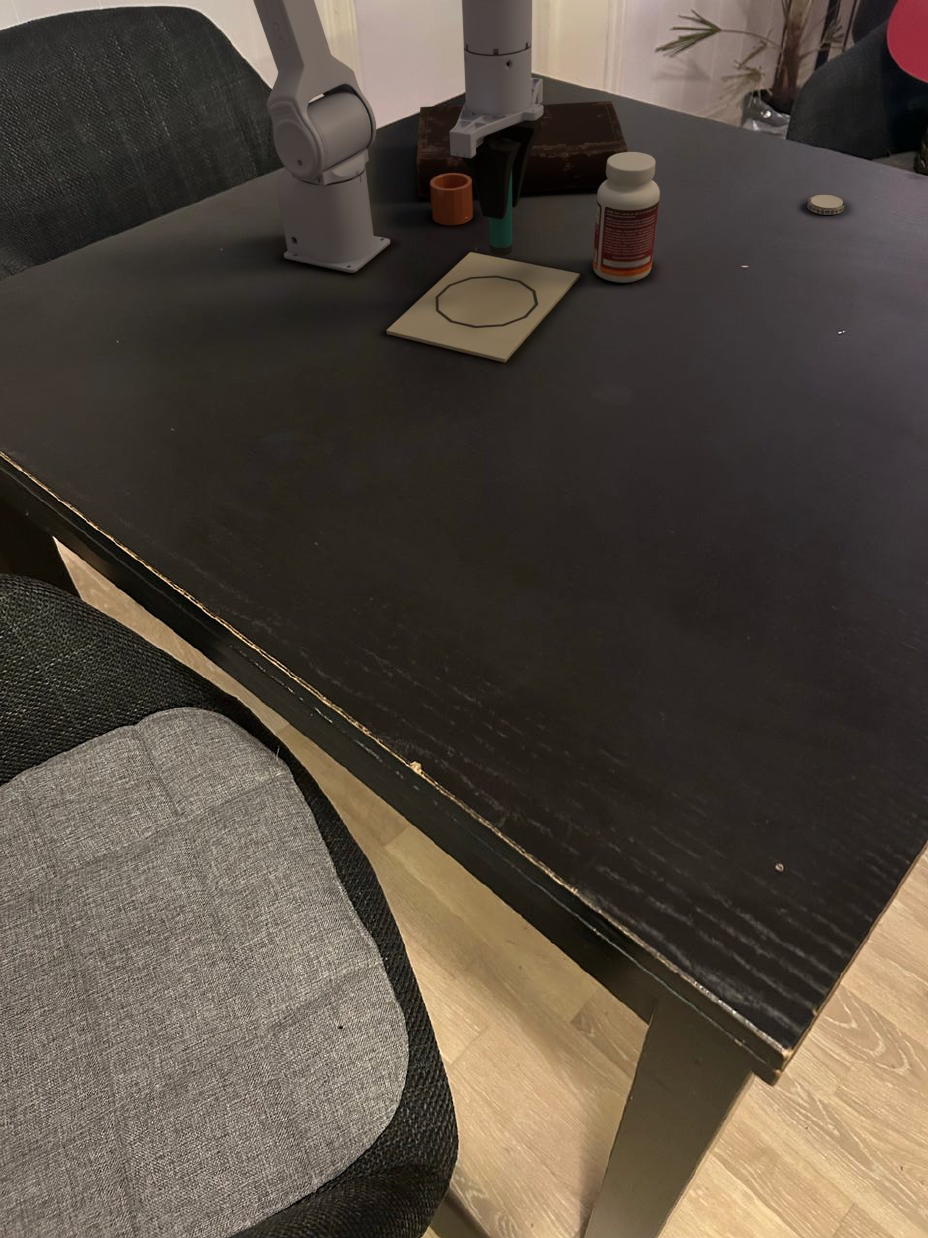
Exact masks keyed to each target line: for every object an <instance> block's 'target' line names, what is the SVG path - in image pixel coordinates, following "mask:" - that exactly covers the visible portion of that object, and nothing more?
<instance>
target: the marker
mask: <svg viewBox="0 0 928 1238" xmlns="http://www.w3.org/2000/svg"><path fill="white" fill-rule="evenodd" d="M504 140H507V141H511V140H510V139H508V138H504ZM488 223H489V226H488V227H489V252H490V254H491V255H493V256H496V257H497V256H499V257H504V256H507V255H510V254H511V253H512V252H513V207H512V171H511V177H510V183H509V194H508V204H507V210H506V214H505V217H504V218H503V219H496V218H490V217H488Z"/></svg>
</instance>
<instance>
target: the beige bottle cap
mask: <svg viewBox="0 0 928 1238" xmlns="http://www.w3.org/2000/svg"><path fill="white" fill-rule="evenodd" d="M845 206H846V202H845V200H844V199H843V198H841V197H839V196H836V195H832V194H817V195H813V196H811V197H809V198H808V200H807V205H806V207H807V209H808V210H809V211H811V212H812V213H815V214H819V215H837V214H841V213H842V212H843V211H844V209H845Z"/></svg>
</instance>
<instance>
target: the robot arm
mask: <svg viewBox="0 0 928 1238" xmlns="http://www.w3.org/2000/svg"><path fill="white" fill-rule="evenodd" d="M252 1H253V4H254V7H255V9H256V14H257V15H258V18H259V21H260V24H261V27H262V29H263V32H264V35H265V38H266V42H267V44H268V47H269V49H270V50H269V51H270V53H271V56H272V59H273V62H274V64H275V67H276V70H277V75H276V79H275V82H274V84H273V86H272V87H271V91H270V94H269V95H268V99H267V101H266V108H267V110H268V113H269V116H270V120H271V125H272V136H273V143H274V148H275V151H276V154H277V156H278V158H279V159H280V162H281V163H282V165H283V166H284V167H285V168H284V169H283V170H282V172H281V174H280V175H279V178H278V183H277V203H278V208H279V213H280V219H281V223H282V228H283V234H284V239H285V243H286V249H287V251H285V252H284V253H283V258H284V259H286V260H290V261H295V262H299V263H304V264H308V265H313V266H318V267H322V268H327V269H331V270H336V271H339V272H345V273H350V274H355V273H357V272H358V271H359V270H360V269H361V268H363V267H364V266H365V265H366V264H368V263H369V262H370V261H371V260H372V259H374V258H375V257H376V256H377V255H379V254H380V253H381V252H382V251H383V250H384V249H386V248H387V247H388V246H389V245H390V244H391V239H390V238H387V237H382V236H377V235H374V226H373V219H372V210H371V203H370V202H371V201H370V194H369V193H370V192H369V186H368V177H367V170H366V163H368V162H369V161H370V159H369V149H370V148H372V146H373V145H374V142H375V140H376V137H377V122H376V116H375V113H374V111H373V108H372V106H371V104H370V102H369V101H368V99H367V98H366V96H365V95H364V93H363V91H362V90H361V88H360V86H359V83H358V79H357V78H356V74H355V71H354V70H353V69H352V68H351V67H349V66H348V65H347V64H345V63H344V62H342V61H340V60H339V59H338V58H337V57H335V56H334V55H332V53H331V50H330V46H329V43H328V40H327V37H326V33H325V31H324V30H325V29H324V27H323V24H322V21H321V18H320V17H321V16H320V14H319V11H318V8H317V5H316V1H315V0H252ZM461 12H462V13H461V14H462V16H461V17H462V37H463V38H462V39H463V40H462V41H463V65H464V92H465V93H464V94H465V102H464V103H463V104H464V105H463V104H462V105H463V108H462V111H461V113H460V116H459V119H458V121H457V124H456V126H455V127H454V128H453V129H452V130H450V131H449V133H450V152H451V155H452V156H459V157H462V159H463V160H464V162H465V164H466V166H467V168H468V170H469V172H470V175H471V177H472V180H473V183H474V186H475V189H476V193H475V194H476V196H477V199H478V204H479V207H480V210H481V214H482V216H483V217H484V218H485V217H486V218H489V217H490V218H496V219H503V218H504V217H505V214H506V210H507V204H508V194H509V183H510V177H511V171H512V208H516V207H517V206H518V203H519V199H520V196H521V193H522V192H521V187H522V182H523V178H524V173H525V169H526V165H527V162H528V158H529V155H530V153H531V150H532V147H533V145H534V143H535V140H536V138H537V136H538V134H539V132H540V131H541V120H539V119H538V118H539V117H541V116H542V115H543V106H542V104H541V103H543V93H544V92H543V89H544V88H543V86H544V85H543V84H544V79H543V78H538V77H532V61H533V58H532V57H533V56H532V54H533V0H461ZM320 95H322V96H320ZM318 96H320V97H318ZM317 97H318V98H317ZM315 98H316V99H315ZM313 99H314V100H313ZM504 138H508V139H510V140H511V141H507V140H504Z"/></svg>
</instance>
